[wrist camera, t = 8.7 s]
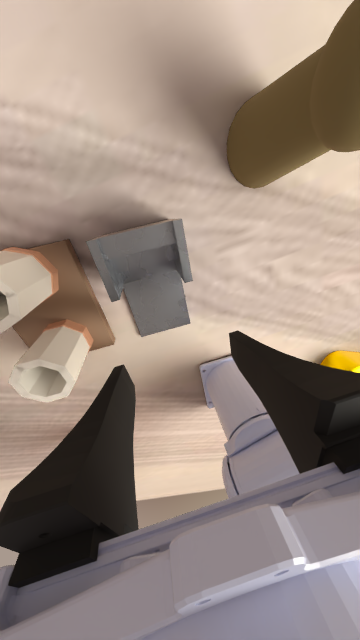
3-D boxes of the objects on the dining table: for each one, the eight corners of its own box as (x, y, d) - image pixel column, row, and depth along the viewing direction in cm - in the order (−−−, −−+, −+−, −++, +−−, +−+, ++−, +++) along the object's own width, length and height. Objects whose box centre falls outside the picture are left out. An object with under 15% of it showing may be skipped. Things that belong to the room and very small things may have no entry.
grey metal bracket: (190, 321, 23) (205, 351, 18) (140, 335, 22) (140, 370, 17) (169, 219, 17) (181, 218, 12) (102, 234, 17) (85, 241, 12)
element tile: (327, 348, 30) (357, 368, 26) (389, 353, 34) (423, 372, 30) (285, 410, 37) (304, 434, 33) (341, 409, 41) (364, 431, 36)
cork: (233, 198, 17) (345, 172, 8) (219, 109, 14) (375, -109, 5) (293, 175, 17) (478, 120, 8) (293, 81, 14) (590, -190, 5)
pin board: (115, 338, 22) (110, 362, 18) (46, 357, 21) (27, 385, 18) (68, 239, 17) (48, 244, 13) (-25, 261, 16) (-74, 273, 12)
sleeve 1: (69, 281, 17) (38, 309, 12) (33, 308, 18) (-12, 345, 12) (25, 237, 15) (-37, 246, 10) (-15, 268, 15) (-95, 293, 10)
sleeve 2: (98, 349, 21) (84, 392, 16) (58, 360, 21) (31, 408, 15) (80, 315, 19) (56, 352, 13) (35, 327, 18) (-6, 369, 13)
